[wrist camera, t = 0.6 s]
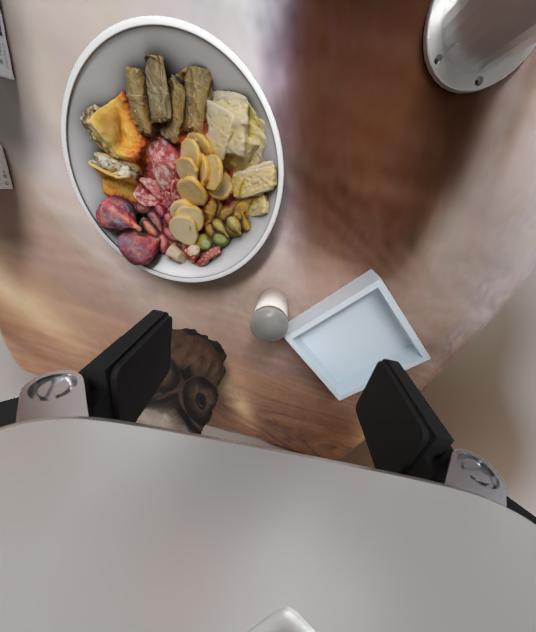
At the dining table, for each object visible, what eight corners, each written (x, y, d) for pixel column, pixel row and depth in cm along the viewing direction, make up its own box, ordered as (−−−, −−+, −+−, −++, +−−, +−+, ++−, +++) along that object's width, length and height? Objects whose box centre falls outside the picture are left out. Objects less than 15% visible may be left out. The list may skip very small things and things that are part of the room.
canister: (275, 281, 43) (272, 301, 35) (295, 305, 45) (295, 329, 37) (251, 299, 45) (242, 322, 37) (270, 321, 47) (266, 348, 39)
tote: (371, 268, 41) (380, 278, 36) (417, 342, 46) (431, 358, 42) (284, 323, 47) (284, 337, 43) (335, 383, 53) (339, 400, 48)
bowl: (129, -32, 28) (75, -106, 21) (328, 150, 34) (337, 140, 27) (67, 202, 40) (20, 204, 33) (220, 303, 47) (207, 324, 40)
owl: (163, 324, 50) (91, 399, 32) (223, 320, 48) (182, 396, 30) (180, 372, 55) (128, 459, 38) (234, 370, 54) (206, 460, 36)
